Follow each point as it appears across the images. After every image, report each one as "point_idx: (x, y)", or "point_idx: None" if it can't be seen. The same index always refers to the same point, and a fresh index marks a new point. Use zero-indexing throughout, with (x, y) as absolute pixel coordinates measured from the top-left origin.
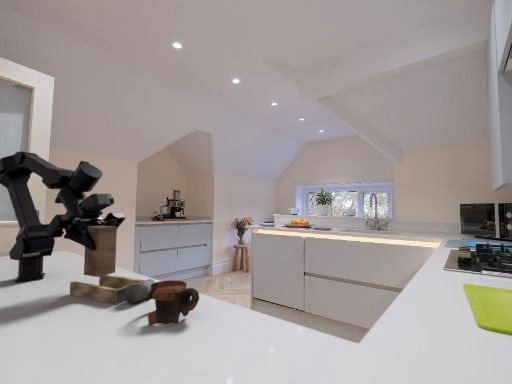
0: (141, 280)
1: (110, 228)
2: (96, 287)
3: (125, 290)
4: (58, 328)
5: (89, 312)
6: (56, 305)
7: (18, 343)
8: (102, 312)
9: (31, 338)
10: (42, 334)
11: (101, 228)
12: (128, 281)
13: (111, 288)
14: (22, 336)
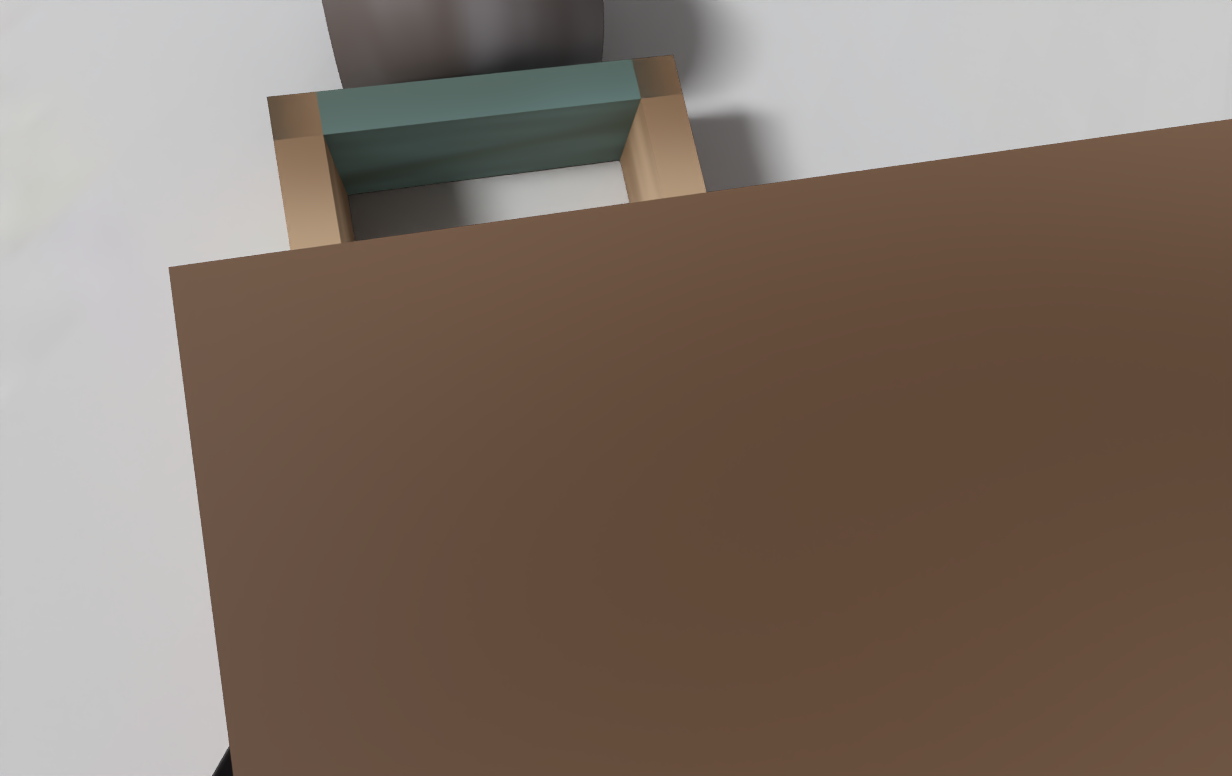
0: (301, 153)
1: (685, 223)
2: None
3: (601, 34)
4: (1053, 62)
5: (848, 143)
6: None
7: (1221, 52)
8: (790, 68)
9: (1171, 57)
10: (1126, 58)
11: (1222, 143)
12: None
13: (669, 164)
14: (1199, 119)
